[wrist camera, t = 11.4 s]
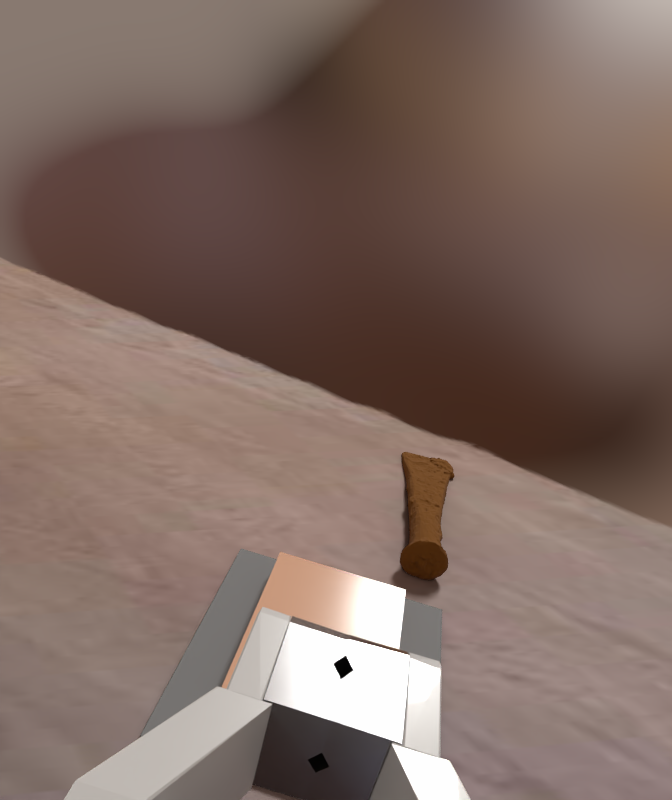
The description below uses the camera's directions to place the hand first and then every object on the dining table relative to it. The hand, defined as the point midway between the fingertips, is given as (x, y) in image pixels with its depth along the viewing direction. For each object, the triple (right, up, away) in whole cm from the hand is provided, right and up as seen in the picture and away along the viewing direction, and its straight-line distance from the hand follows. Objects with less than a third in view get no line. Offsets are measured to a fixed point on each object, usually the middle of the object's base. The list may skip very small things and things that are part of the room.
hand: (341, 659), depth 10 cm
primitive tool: (+7, -6, +44) cm, 45 cm away
